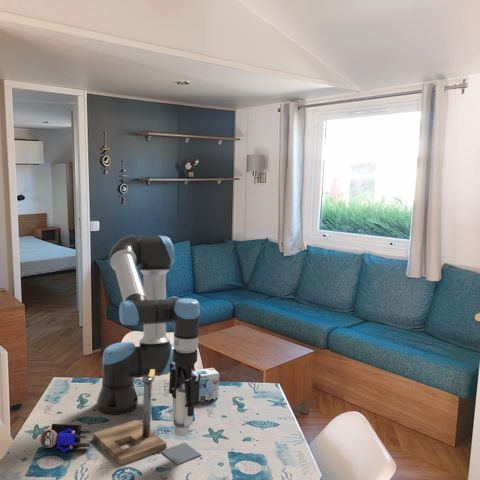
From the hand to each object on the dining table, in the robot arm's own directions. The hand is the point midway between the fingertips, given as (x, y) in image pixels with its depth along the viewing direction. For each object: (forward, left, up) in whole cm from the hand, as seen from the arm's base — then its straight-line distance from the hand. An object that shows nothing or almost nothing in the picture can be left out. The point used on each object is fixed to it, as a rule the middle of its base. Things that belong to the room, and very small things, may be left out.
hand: (182, 421), depth 153 cm
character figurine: (-24, -27, -11) cm, 38 cm away
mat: (0, 0, -11) cm, 11 cm away
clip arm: (-20, 0, +5) cm, 20 cm away
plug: (0, 0, -4) cm, 4 cm away
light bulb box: (-29, +31, -11) cm, 44 cm away
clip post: (-13, -5, -9) cm, 17 cm away
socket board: (-15, -10, -11) cm, 21 cm away
